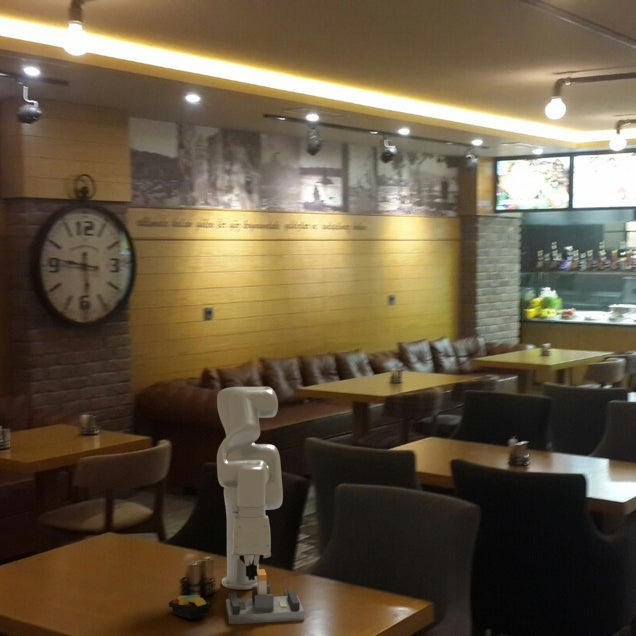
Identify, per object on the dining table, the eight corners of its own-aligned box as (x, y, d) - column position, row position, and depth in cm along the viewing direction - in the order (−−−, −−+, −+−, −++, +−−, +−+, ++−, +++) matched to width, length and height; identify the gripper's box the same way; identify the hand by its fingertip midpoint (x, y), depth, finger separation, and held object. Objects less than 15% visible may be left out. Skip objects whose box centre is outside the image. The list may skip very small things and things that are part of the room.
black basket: (185, 612, 265) (183, 591, 265) (213, 616, 255) (211, 595, 256) (165, 617, 261) (163, 596, 261) (193, 622, 251) (191, 601, 251)
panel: (225, 607, 265) (225, 584, 265) (297, 604, 268) (297, 581, 268) (229, 624, 252) (229, 600, 252) (304, 620, 255) (304, 596, 255)
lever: (257, 600, 263) (256, 569, 262) (265, 600, 263) (264, 568, 263) (259, 608, 257) (258, 575, 256) (268, 607, 257) (266, 575, 257)
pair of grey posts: (228, 599, 272) (228, 585, 271) (290, 596, 275) (290, 581, 274) (233, 622, 254) (233, 606, 254) (299, 618, 257) (299, 602, 256)
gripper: (224, 515, 253) (224, 584, 254) (280, 513, 256) (280, 582, 256) (222, 509, 261) (223, 576, 261) (277, 507, 263) (277, 573, 263)
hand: (251, 578), depth 259 cm, fingers closed
